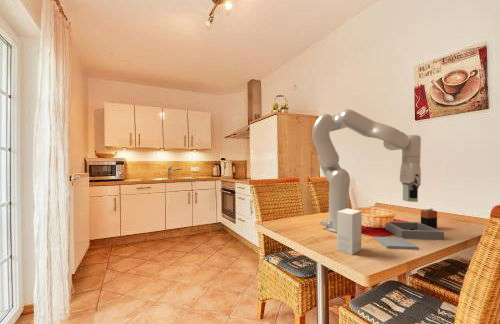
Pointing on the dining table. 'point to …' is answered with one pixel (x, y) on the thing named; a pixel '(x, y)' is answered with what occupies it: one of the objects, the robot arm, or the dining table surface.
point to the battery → (429, 218)
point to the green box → (408, 194)
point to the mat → (396, 243)
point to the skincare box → (349, 230)
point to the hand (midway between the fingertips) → (410, 197)
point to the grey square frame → (419, 232)
